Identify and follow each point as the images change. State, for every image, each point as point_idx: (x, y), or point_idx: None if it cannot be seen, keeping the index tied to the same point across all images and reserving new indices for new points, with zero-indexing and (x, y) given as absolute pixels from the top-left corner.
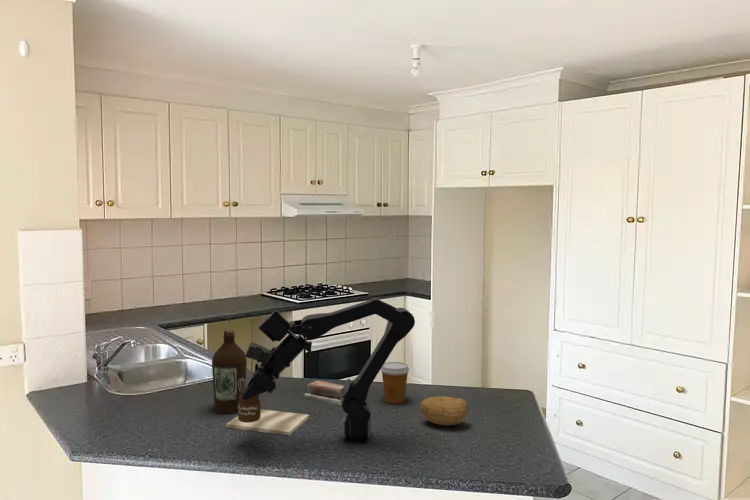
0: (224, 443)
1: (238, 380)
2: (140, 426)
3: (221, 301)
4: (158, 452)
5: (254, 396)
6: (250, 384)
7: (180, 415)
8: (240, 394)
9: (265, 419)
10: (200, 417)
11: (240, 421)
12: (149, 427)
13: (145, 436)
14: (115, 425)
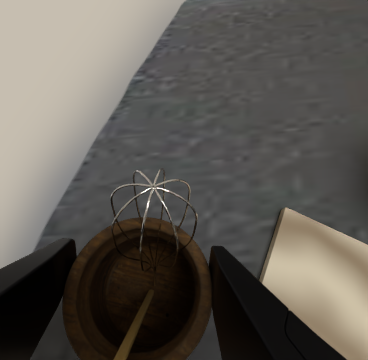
0: (171, 213)
1: (163, 168)
2: (283, 54)
3: None
4: (150, 91)
5: (71, 342)
6: (226, 301)
7: (350, 107)
8: (133, 223)
9: (334, 342)
10: (345, 146)
11: (308, 249)
12: (278, 66)
13: (233, 65)
14: (286, 24)
